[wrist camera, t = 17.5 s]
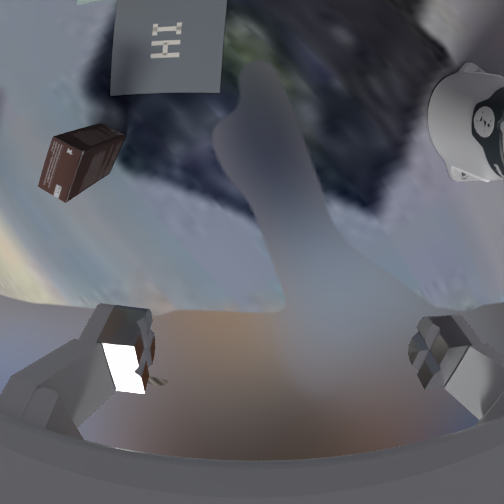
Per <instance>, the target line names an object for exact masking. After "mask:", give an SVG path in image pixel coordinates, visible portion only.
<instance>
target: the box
mask: <svg viewBox="0 0 504 504" xmlns="http://www.w3.org/2000/svg"><path fill="white" fill-rule="evenodd" d="M125 137H126V136H125V135H124V134H122V133H120V132H118V131H116V130H114V129H112V128H110V127H108V126H106V125H104V124H101V123H100V124H96V125H92V126H88V127H85V128H81V129H77V130H74V131H70V132H67V133H63V134H60V135H57V136H53V138H52V141H51V144H50V147H49V150H48V153H47V157H46V160H45V163H44V167H43V170H42V174H41V177H40V181H39V185H38V187H40V188H41V189H43V190H45V191H46V192H48V193H50V194H52V195H53V196H55V197H57V198H58V199H60V200H62V201H63V202H65V203H66V202H68V201H69V200H71V199H72V198H73V197H75V196H76V195H78V194H79V193H81V192H82V191H84V190H85V189H87V188H88V187H90V186H91V185H93V184H94V183H96V182H97V181H99V180H100V179H102V178H103V177H105V176H107V175H108V174H109V173H110V171H111V169H112V167H113V164H114V162H115V160H116V157H117V155H118V153H119V150H120V148H121V146H122V144H123V141H124V139H125Z"/></svg>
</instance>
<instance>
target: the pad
mask: <svg viewBox="0 0 504 504" xmlns="http://www.w3.org/2000/svg"><path fill="white" fill-rule="evenodd" d="M96 1H101V0H78V2H77V5H82V4H86V3H91V2H96Z"/></svg>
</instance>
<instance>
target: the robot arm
mask: <svg viewBox="0 0 504 504" xmlns="http://www.w3.org/2000/svg"><path fill="white" fill-rule="evenodd" d="M428 126H429V132H430V136H431V139H432V141H433V144H434V146H435V148H436V149H437V151H438V153H439V154H440V155H441V156H442V158H443V159H444V161H445V162H446V165H447V168H448V172H449V175H450V177H451V179H452V180H455V181H481V180H482V181H485V182H489V181H490V180H504V77H503V76H501V75H496V74H490V73H486V72H485V71H483V70H482V69H481V68H479V67H478V66H477V65H475V64H474V63H470V62H466V63H465V64H464V65H463V66H462V67H461V68H460V70H459V71H458V72H457V73H455V74H453V75H450V76H448V77H446V78H444V79H443V80H442V81H441V82H440V83H439V84H438V85H437V87H436V88H435V90H434V92H433V94H432V96H431V99H430V103H429V108H428ZM462 172H463V174H462ZM152 321H153V320H152V314H151V311H150V309H144V308H136V307H127V306H120V305H110V304H102V303H101V304H99V305H97V307H96V309H95V310H94V312H93V314H92V316H91V317H90V319H89V321H88V323H87V325H86V326H85V328H84V330H83V332H82V334H81V336H80V338H79V339H78V340H77V339H73V340H71V341H70V342H68V343H66V344H65V345H63V346H61V347H59V348H58V349H56V350H54V351H53V352H51V353H49V354H47V355H46V356H44V357H42V358H41V359H39V360H38V361H36V362H34V363H32V364H31V365H29V366H27V367H26V368H24V369H22V370H21V371H19V372H17V373H16V374H14V375H12V376H11V377H10V379H9V381H8V383H7V384H6V386H5V388H4V390H3V391H2V393H1V395H0V504H504V354H503V353H502V352H500V351H498V350H496V349H495V348H493V347H492V346H490V345H488V344H483V342H482V341H481V340H480V338H479V337H478V336H477V334H476V333H475V332H474V330H473V329H472V328H471V326H470V325H469V324H468V323H467V321H466V320H465V319H464V317H463V316H461V315H459V314H453V315H447V316H428V317H423V318H422V319H421V320H420V321H419V323H418V325H417V329H418V333H416V335H414V336H413V337H412V339H411V341H410V344H409V348H408V356H409V360H410V362H411V364H412V366H414V367H415V368H417V369H418V373H417V376H418V378H419V380H420V382H421V384H422V386H423V388H424V390H428V389H435V388H442V387H445V389H446V390H447V391H448V392H449V393H450V394H451V395H452V396H454V397H455V398H456V399H457V400H458V401H459V402H460V403H461V404H462V405H464V406H465V407H466V408H467V409H468V410H469V411H470V412H471V413H472V414H473V415H475V416H476V417H477V418H478V419H479V420H480V421H479V422H478V423H477V424H476V425H475V426H474V427H471V428H468V429H465V430H462V431H459V432H455V433H452V434H449V435H445V436H442V437H438V438H434V439H430V440H426V441H422V442H418V443H414V444H409V445H405V446H400V447H395V448H390V449H384V450H379V451H373V452H367V453H360V454H353V455H345V456H337V457H327V458H316V459H304V460H284V461H228V460H209V459H196V458H185V457H175V456H167V455H159V454H152V453H145V452H139V451H133V450H128V449H122V448H117V447H112V446H107V445H103V444H98V443H94V442H90V441H86V440H84V439H83V437H82V436H81V434H80V432H79V431H78V429H77V428H78V427H79V426H80V425H81V424H82V423H83V422H84V421H85V420H86V419H87V418H88V417H89V416H91V415H92V413H94V412H95V411H96V410H97V409H98V408H99V407H100V406H101V405H102V404H104V403H105V402H106V400H108V399H109V398H110V397H111V396H112V395H113V394H114V393H115V392H116V390H119V391H127V392H134V393H145V391H146V387H147V383H148V379H149V371H148V367H150V366H151V365H152V364H153V360H154V354H155V336H154V332H153V331H152V330H151V329H150V327H151V325H152Z"/></svg>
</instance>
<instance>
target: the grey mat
mask: <svg viewBox="0 0 504 504" xmlns="http://www.w3.org/2000/svg"><path fill="white" fill-rule="evenodd" d="M226 7H227V0H118V2H117V10H116V19H115V28H114V39H113V51H112V66H111V89H110V96H116V95H129V94H146V93H176V92H205V93H220V83H221V68H222V55H223V42H224V30H225V18H226Z"/></svg>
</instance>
